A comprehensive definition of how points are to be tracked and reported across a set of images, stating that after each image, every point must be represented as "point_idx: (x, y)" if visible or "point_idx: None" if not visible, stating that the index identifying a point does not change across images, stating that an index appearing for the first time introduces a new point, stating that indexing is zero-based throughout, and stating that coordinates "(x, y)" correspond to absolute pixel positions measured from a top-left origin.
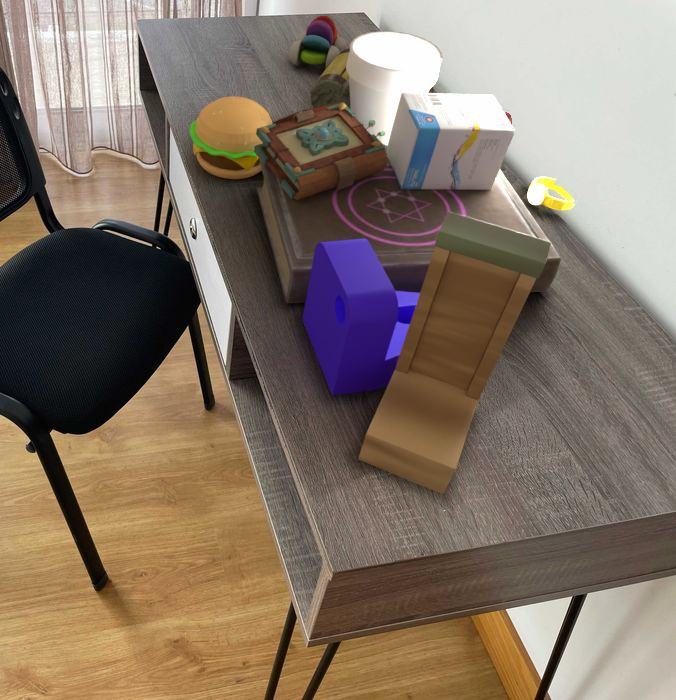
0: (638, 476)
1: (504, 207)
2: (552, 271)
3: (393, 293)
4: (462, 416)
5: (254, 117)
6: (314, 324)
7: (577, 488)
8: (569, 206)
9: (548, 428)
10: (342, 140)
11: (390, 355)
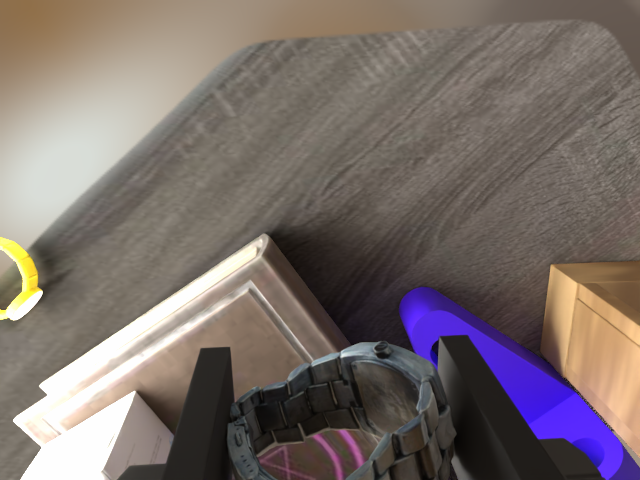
0: (567, 59)
1: (172, 360)
2: (273, 251)
3: (618, 473)
4: (626, 291)
5: None
6: None
7: (612, 127)
8: (13, 245)
9: (530, 176)
10: None
11: (564, 390)
